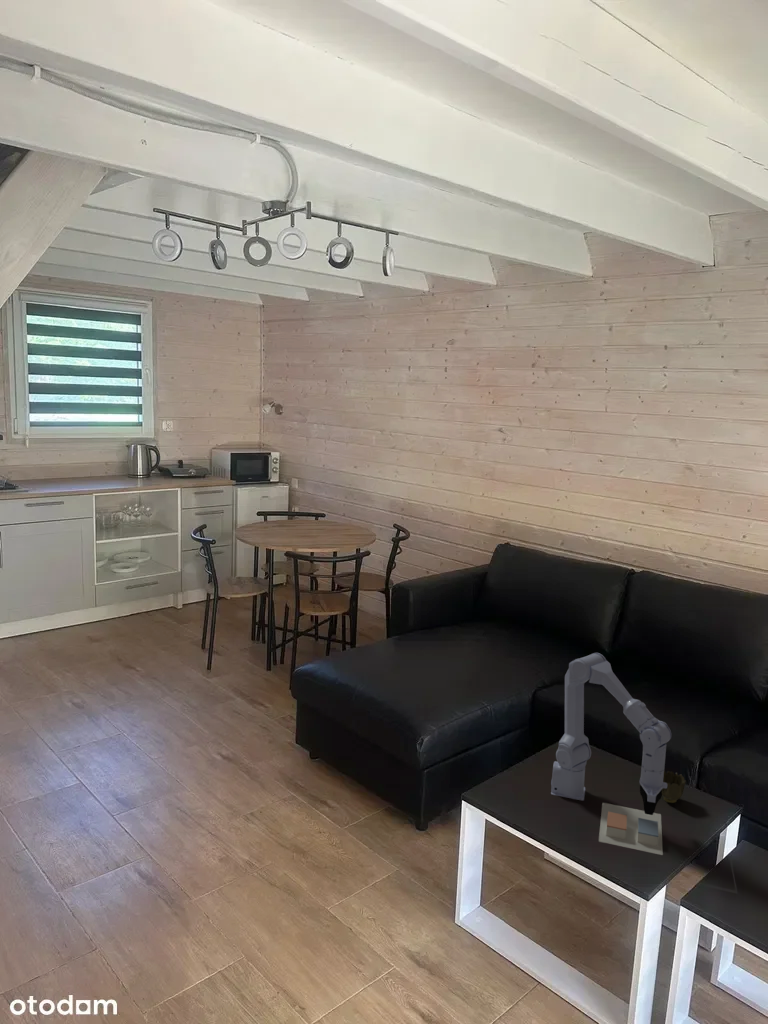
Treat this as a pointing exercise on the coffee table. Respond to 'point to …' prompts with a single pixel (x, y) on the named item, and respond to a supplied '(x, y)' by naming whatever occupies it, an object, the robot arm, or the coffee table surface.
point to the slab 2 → (647, 832)
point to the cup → (673, 786)
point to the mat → (630, 828)
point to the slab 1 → (616, 825)
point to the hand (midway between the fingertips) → (648, 813)
